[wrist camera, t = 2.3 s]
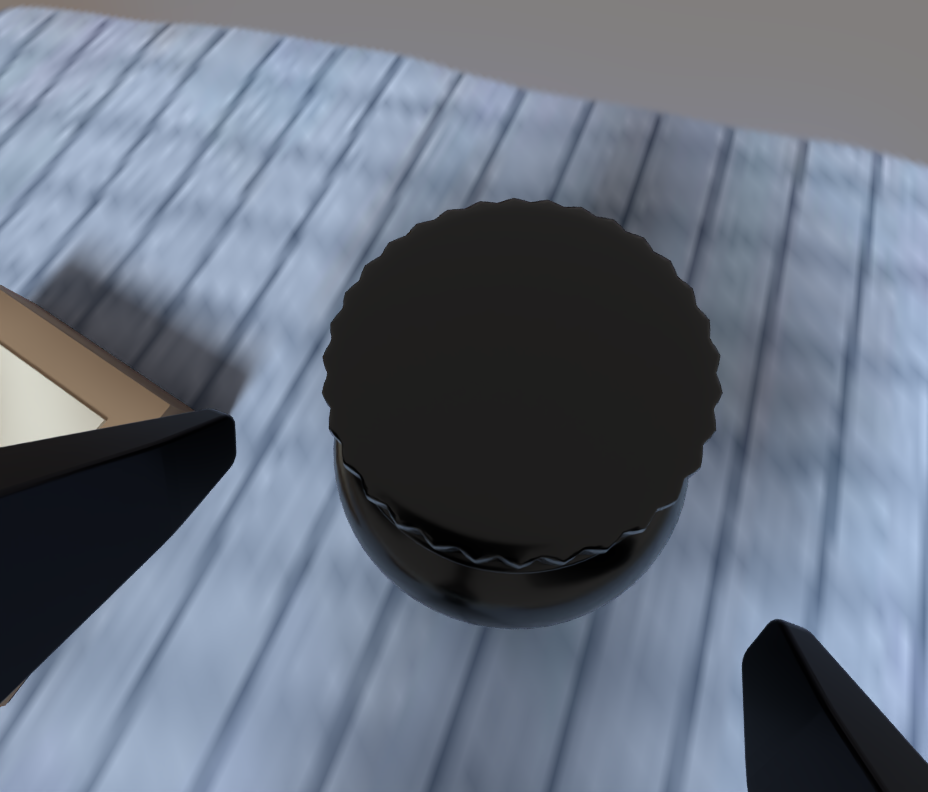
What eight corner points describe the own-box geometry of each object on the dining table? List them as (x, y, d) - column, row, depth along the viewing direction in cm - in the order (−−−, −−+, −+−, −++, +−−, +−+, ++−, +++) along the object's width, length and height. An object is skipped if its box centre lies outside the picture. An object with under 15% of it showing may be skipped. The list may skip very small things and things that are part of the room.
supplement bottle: (618, 582, 16) (941, 653, 4) (415, 609, 16) (211, 745, 4) (576, 389, 18) (716, 102, 7) (398, 414, 18) (235, 175, 7)
